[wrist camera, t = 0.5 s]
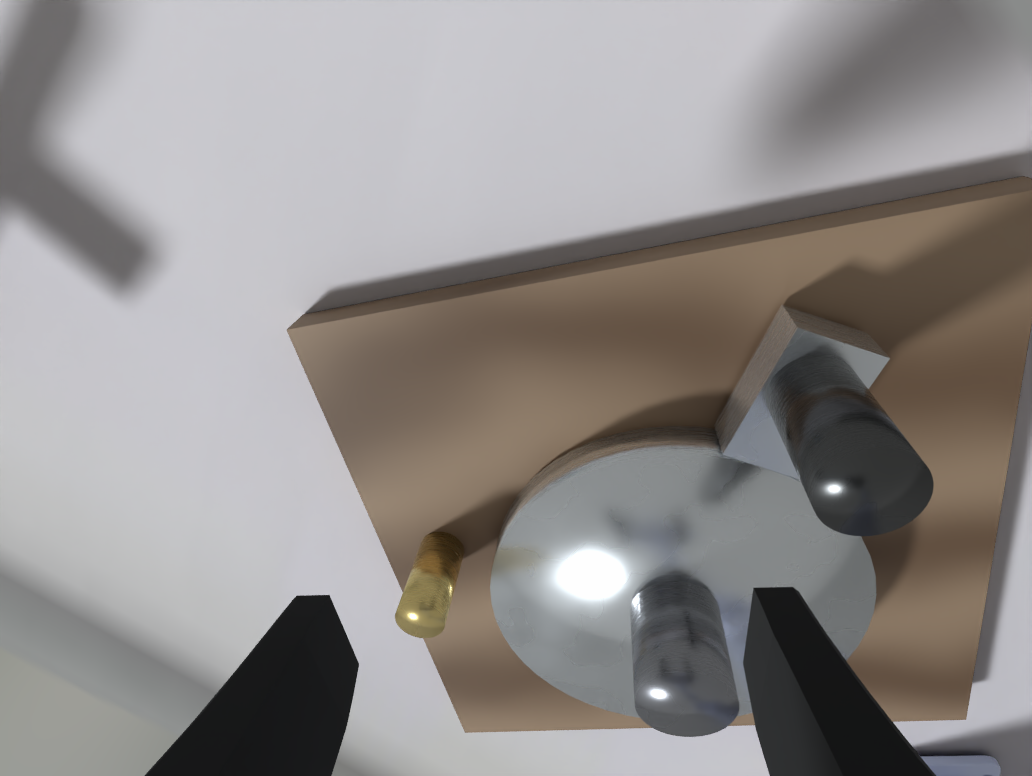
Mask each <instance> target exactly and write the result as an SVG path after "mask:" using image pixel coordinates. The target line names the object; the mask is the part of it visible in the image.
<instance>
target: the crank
mask: <svg viewBox="0 0 1032 776" xmlns="http://www.w3.org/2000/svg"><path fill="white" fill-rule="evenodd" d="M889 359H890V358H889V356H888V355H887V354H886V353H885V352H884V351H883V350H882V349H881V348H880V347H879V345H878V344H877V343H876V342H875V341H874V340H873V339H872V338H871V337H870V336H869V335H868V333H866V332H863V331H860V330H857V329H854V328H851V327H848V326H845V325H842V324H839V323H836V322H833V321H830V320H827V319H824V318H821V317H818V316H815V315H812V314H809V313H806V312H803V311H800V310H797V309H794V308H791V307H788V306H785V305H781V307H780V309H779V311H778V312H777V314H776V316H775V318H774V319H773V321H772V323H771V325H770V327H769V328H768V330H767V332H766V334H765V335H764V337H763V339H762V341H761V343H760V344H759V346H758V348H757V350H756V351H755V353H754V355H753V357H752V358H751V360H750V362H749V364H748V366H747V367H746V369H745V371H744V373H743V374H742V376H741V378H740V380H739V381H738V383H737V385H736V387H735V389H734V390H733V392H732V394H731V396H730V397H729V399H728V401H727V403H726V405H725V406H724V408H723V410H722V412H721V413H720V415H719V417H718V419H717V420H716V422H715V424H714V427H715V429H712V428H705V427H690V426H665V427H652V428H643V429H637V430H632V431H627V432H621V433H617V434H614V435H611V436H607V437H604V438H601V439H598V440H595V441H592V442H590V443H588V444H585V445H583V446H581V447H578V448H576V449H574V450H572V451H570V452H569V453H567V454H565V455H563V456H562V457H560V458H558V459H557V460H555V461H553V462H552V463H551V464H549V465H548V466H547V467H546V468H544V469H543V470H542V471H540V472H539V473H538V474H537V475H536V476H535V477H534V478H533V479H532V480H531V481H530V482H529V483H528V484H527V485H526V486H525V487H524V488H523V489H522V490H521V492H520V493H519V494H518V496H517V497H516V499H515V500H514V502H513V503H512V504H511V506H510V508H509V510H508V512H507V514H506V516H505V518H504V521H503V524H502V527H501V530H500V534H499V537H498V542H497V547H496V552H495V557H494V562H493V566H492V573H491V582H490V592H491V604H492V608H493V611H494V615H495V619H496V621H497V624H498V626H499V628H500V630H501V632H502V635H503V636H504V638H505V639H506V641H507V642H508V644H509V645H510V647H511V649H512V650H513V651H514V652H515V653H516V655H517V656H518V657H519V658H520V659H521V660H522V661H523V663H524V664H526V665H527V666H528V667H529V668H530V669H531V670H532V671H533V672H534V673H536V674H537V675H538V676H539V677H541V678H542V679H544V680H545V681H546V682H548V683H549V684H551V685H552V686H554V687H555V688H557V689H559V690H561V691H562V692H564V693H566V694H568V695H569V696H572V697H574V698H576V699H578V700H580V701H583V702H585V703H587V704H590V705H593V706H596V707H599V708H601V709H604V710H607V711H611V712H615V713H619V714H623V715H627V716H632V717H638V718H640V717H639V715H638V714H637V712H636V709H635V702H634V682H633V663H632V643H631V623H630V606H631V603H632V601H633V599H634V598H635V596H636V595H637V594H638V593H639V592H641V591H642V590H643V589H645V588H647V587H649V586H651V585H653V584H656V583H661V582H666V581H682V582H688V583H692V584H695V585H698V586H700V587H702V588H704V589H705V590H707V591H708V592H709V593H711V594H712V595H713V596H714V598H715V599H716V601H717V602H718V605H719V609H720V614H721V618H722V623H723V628H724V633H725V638H726V642H727V647H728V652H729V657H730V661H731V666H732V671H733V676H734V681H735V685H736V690H737V695H738V700H739V713H738V715H737V716H742V715H746V714H750V713H753V712H752V707H751V702H750V697H749V692H748V687H747V682H746V677H745V671H744V666H743V659H744V651H745V644H746V637H747V630H748V623H749V616H750V609H751V602H752V594H753V588H759V587H794V588H795V589H796V590H797V591H799V592H800V594H801V596H802V597H803V599H804V600H805V602H806V603H807V605H808V606H809V608H810V609H811V611H812V612H813V614H814V615H815V617H816V618H817V620H818V621H819V623H820V624H821V626H822V627H823V629H824V630H825V632H826V633H827V635H828V636H829V637H830V639H831V640H832V642H833V643H834V645H835V646H836V647H837V649H838V650H839V652H840V653H841V654H842V656H843V657H844V659H845V660H846V661H847V659H848V658H849V657H850V656H851V654H852V653H853V652H854V651H855V649H856V648H857V647H858V646H859V644H860V642H861V640H862V638H863V637H864V635H865V633H866V631H867V630H868V627H869V624H870V621H871V619H872V616H873V613H874V607H875V601H876V575H875V571H874V567H873V564H872V560H871V556H870V554H869V552H868V550H867V548H866V546H865V544H864V542H863V540H862V538H861V536H874V535H880V534H884V533H888V532H891V531H894V530H896V529H899V528H901V527H903V526H904V525H906V524H908V523H909V522H911V521H912V520H914V519H915V518H916V517H917V516H918V515H919V514H920V513H921V512H922V511H923V510H924V509H925V508H926V506H927V505H928V503H929V501H930V499H931V496H932V494H933V488H934V482H933V477H932V474H931V472H930V470H929V468H928V467H927V465H926V464H925V463H924V461H923V460H922V459H921V457H920V456H919V455H918V454H917V452H916V451H915V450H914V448H913V447H912V446H911V444H910V443H909V442H908V441H907V439H906V438H905V437H904V435H903V434H902V433H901V431H900V430H899V429H898V427H897V426H896V425H895V424H894V422H893V421H892V420H891V418H890V417H889V416H888V414H887V413H886V412H885V411H884V409H883V408H882V407H881V405H880V404H879V403H878V401H877V400H876V399H875V397H874V396H873V395H872V394H871V392H870V391H869V390H868V389H869V388H870V386H871V385H872V384H873V382H874V381H875V379H876V378H877V376H878V375H879V374H880V372H881V371H882V369H883V368H884V366H885V365H886V364H887V362H888V361H889Z"/></svg>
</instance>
